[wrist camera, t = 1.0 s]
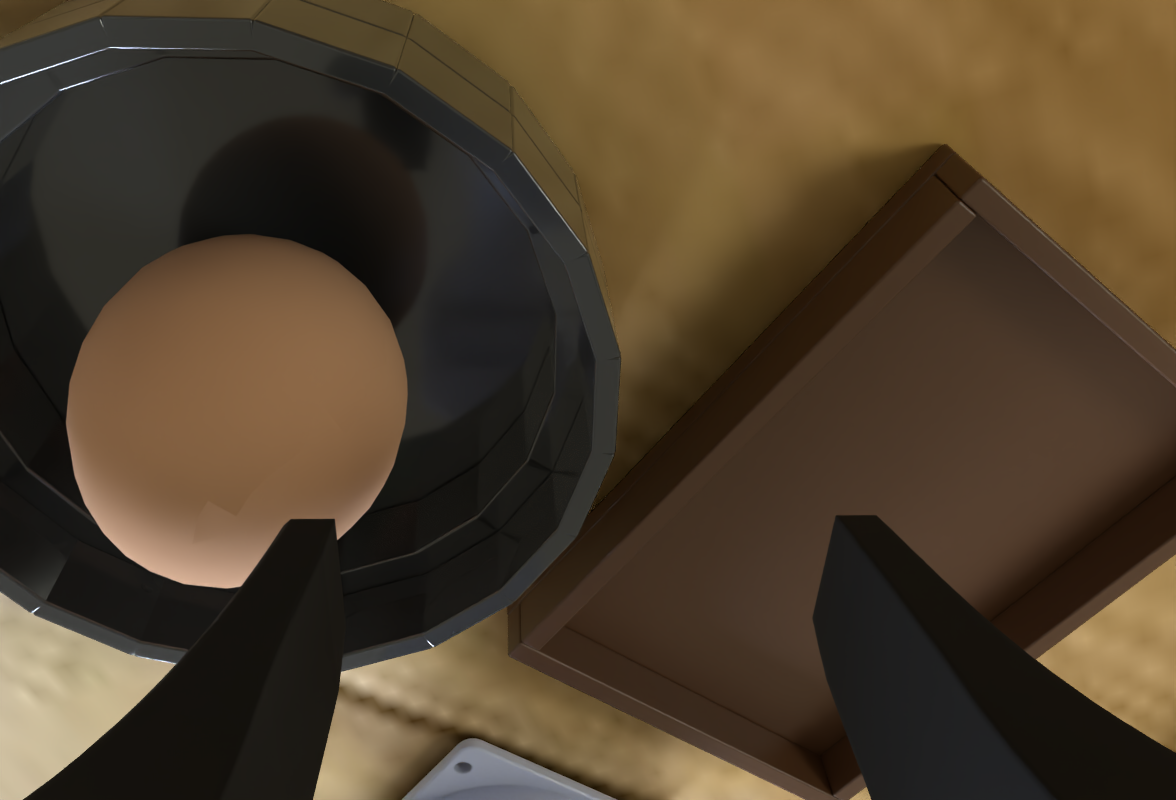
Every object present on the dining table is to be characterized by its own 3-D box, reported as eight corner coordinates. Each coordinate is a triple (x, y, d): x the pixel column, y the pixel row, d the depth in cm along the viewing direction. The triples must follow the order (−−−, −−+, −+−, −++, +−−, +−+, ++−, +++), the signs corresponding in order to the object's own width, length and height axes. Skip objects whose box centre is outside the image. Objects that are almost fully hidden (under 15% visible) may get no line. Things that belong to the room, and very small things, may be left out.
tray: (814, 756, 33) (832, 813, 31) (506, 600, 28) (506, 656, 27) (1248, 414, 27) (1300, 461, 25) (944, 141, 22) (982, 176, 20)
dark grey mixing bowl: (386, 620, 28) (369, 754, 25) (-155, 364, 23) (-284, 485, 19) (727, 238, 23) (772, 336, 19) (122, -215, 18) (19, -204, 14)
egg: (86, 226, 21) (-102, 443, 15) (358, 145, 21) (292, 332, 14) (218, 449, 25) (112, 711, 18) (456, 384, 24) (439, 628, 17)
